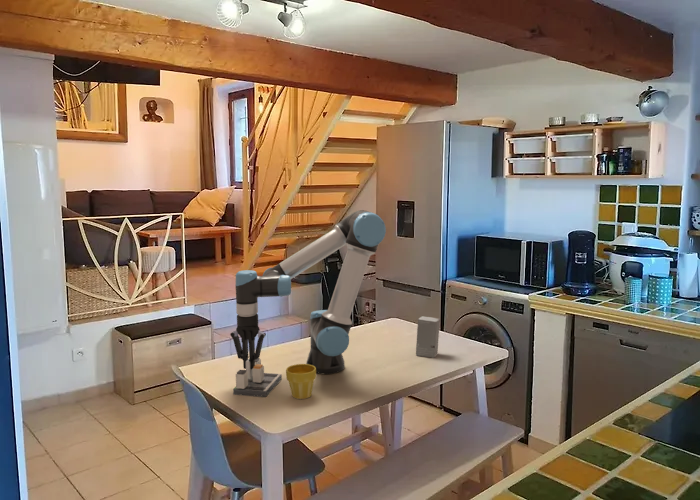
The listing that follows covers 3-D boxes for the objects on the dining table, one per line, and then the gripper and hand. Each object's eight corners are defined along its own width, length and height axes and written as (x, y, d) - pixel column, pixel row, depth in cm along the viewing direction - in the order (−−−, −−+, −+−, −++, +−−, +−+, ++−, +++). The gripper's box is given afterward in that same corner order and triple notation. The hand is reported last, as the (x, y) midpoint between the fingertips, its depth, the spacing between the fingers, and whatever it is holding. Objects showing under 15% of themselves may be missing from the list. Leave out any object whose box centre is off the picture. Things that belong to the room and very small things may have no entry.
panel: (281, 379, 209) (281, 373, 208) (265, 397, 192) (265, 391, 192) (251, 376, 211) (251, 371, 211) (233, 394, 195) (233, 388, 194)
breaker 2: (261, 372, 210) (260, 357, 209) (257, 375, 206) (257, 360, 206) (253, 371, 210) (253, 357, 210) (250, 374, 207) (249, 360, 206)
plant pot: (286, 390, 198) (286, 363, 197) (316, 389, 199) (315, 362, 198) (286, 402, 188) (285, 374, 187) (316, 401, 189) (316, 373, 188)
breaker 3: (264, 379, 203) (263, 364, 202) (260, 382, 199) (260, 367, 199) (256, 378, 203) (256, 363, 202) (252, 382, 200) (252, 367, 199)
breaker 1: (248, 385, 197) (247, 369, 196) (244, 388, 194) (243, 373, 193) (240, 384, 198) (239, 369, 197) (236, 388, 194) (235, 372, 194)
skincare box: (415, 355, 235) (416, 319, 233) (420, 350, 242) (420, 315, 239) (435, 358, 232) (436, 321, 230) (439, 353, 238) (440, 317, 236)
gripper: (268, 312, 201) (270, 374, 204) (234, 310, 204) (236, 372, 207) (260, 317, 194) (262, 382, 197) (225, 315, 196) (228, 379, 200)
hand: (249, 377), depth 202 cm, fingers closed
